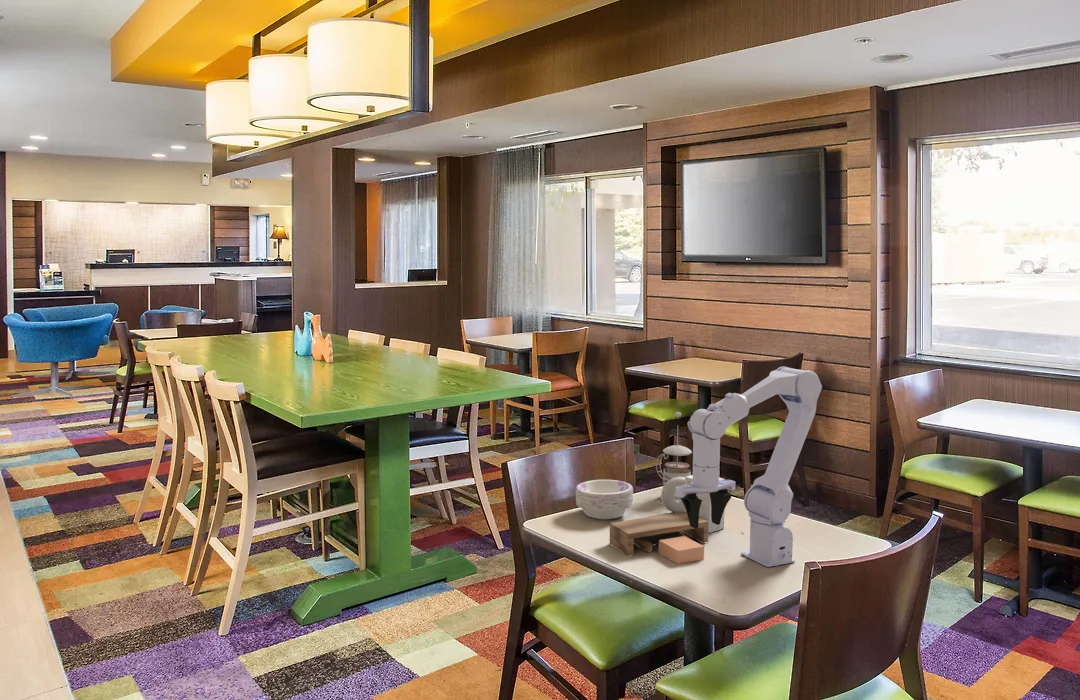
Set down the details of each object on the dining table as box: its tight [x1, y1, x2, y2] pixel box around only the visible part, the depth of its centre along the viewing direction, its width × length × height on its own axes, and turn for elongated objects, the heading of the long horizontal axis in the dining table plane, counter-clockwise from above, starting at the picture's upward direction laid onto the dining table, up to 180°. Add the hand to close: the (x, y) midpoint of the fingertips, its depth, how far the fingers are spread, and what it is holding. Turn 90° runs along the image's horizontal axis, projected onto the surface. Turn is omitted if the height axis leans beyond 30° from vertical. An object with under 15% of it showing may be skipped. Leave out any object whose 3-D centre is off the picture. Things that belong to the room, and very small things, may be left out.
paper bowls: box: [575, 479, 634, 520], centre depth 227 cm, size 15×15×8 cm
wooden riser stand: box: [609, 512, 709, 557], centre depth 205 cm, size 9×22×5 cm, turn 114°
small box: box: [685, 474, 726, 534], centre depth 216 cm, size 8×6×13 cm
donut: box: [660, 477, 685, 514], centre depth 228 cm, size 10×4×10 cm, turn 105°
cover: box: [658, 536, 705, 565], centre depth 196 cm, size 8×7×3 cm
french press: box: [655, 411, 693, 501], centre depth 242 cm, size 10×12×25 cm
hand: (704, 525), depth 187 cm, fingers open, 5 cm apart
